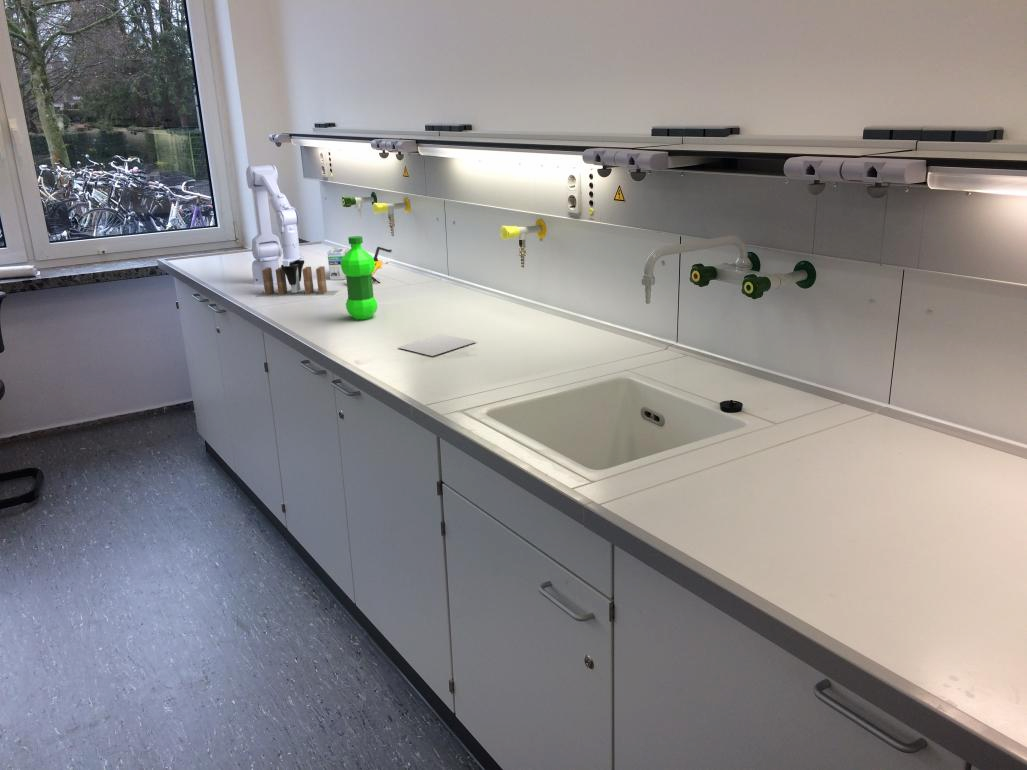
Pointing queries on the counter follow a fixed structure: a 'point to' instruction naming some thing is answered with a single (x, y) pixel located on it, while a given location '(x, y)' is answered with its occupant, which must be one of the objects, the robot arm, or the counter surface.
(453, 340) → the grey flat square plate
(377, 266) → the robot dog
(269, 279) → the domino
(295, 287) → the grey domino
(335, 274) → the light bulb box
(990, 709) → the counter surface
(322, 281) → the domino
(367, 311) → the plastic bottle
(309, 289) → the domino
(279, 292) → the domino
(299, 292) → the rubber mat
